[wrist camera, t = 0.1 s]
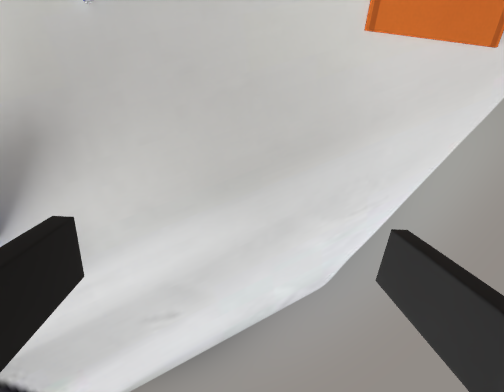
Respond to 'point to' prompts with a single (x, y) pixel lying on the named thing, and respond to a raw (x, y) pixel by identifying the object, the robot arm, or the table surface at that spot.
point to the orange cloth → (440, 19)
